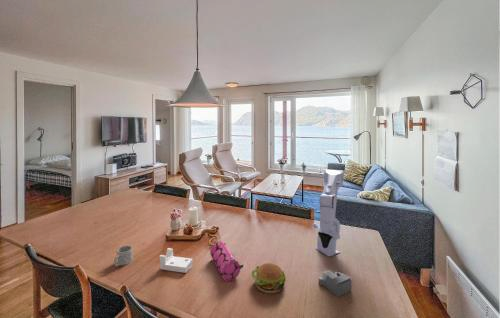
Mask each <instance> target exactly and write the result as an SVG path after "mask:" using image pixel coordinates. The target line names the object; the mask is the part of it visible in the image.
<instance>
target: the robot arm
mask: <svg viewBox="0 0 500 318" xmlns="http://www.w3.org/2000/svg"><path fill="white" fill-rule="evenodd" d="M323 178H324V179H323V180H324V184H325V185H324V187H323V191H322V193H321V194H320V195H319V199H318V201H319V202H318V203H319V204H318V205H319V222H314V223H313V225H312V226H313V228H314V229H315V228H316V229H318V230H317V231H318V233H317V239H316V240H317V241H316V243H317V244H316V246H315V249H316V250H318V251H319V252H321V253H322V254H324V255H326V256H327V257H331V256H335V255H337V254H339V253H340V251H339V250H338V249H337V240H340V239H341V234H340V231H341V223H340V221H339V220H338V219H337V218H336V212H337V211H336V210H337V201H338V191H339V188H342V187H343V185H344V178H345V171H344V170H340V169H339V170H338V169H328V168H325V170H324V173H323Z"/></svg>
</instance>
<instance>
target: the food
mask: <svg viewBox="0 0 500 318" xmlns="http://www.w3.org/2000/svg"><path fill="white" fill-rule="evenodd" d="M251 276H252V278H253V280H254V283H255V286H256V288H257V289H258V290H259V291H260V292H263V293H265V294H275V293H279V292H280V291H281V290H282V289H283V287H284V286H285V283H286V275H285V273H284V271H283V270H282V268H281V267H280V266H279V265H278V264H275V263H273V262H272V263H271V262H265V263H263V264H261V265H258V266H256V268H255V269H254V270H253V269H252V271H251Z"/></svg>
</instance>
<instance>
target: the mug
mask: <svg viewBox="0 0 500 318" xmlns="http://www.w3.org/2000/svg"><path fill="white" fill-rule="evenodd" d="M133 261H134V254H133V247H132V245H122V246H121V247H118V248H117V249H116V256H115V257H114V260H113V263H114V266H115V267H120V266H127V265H129V264H131V263H132V262H133Z"/></svg>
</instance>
